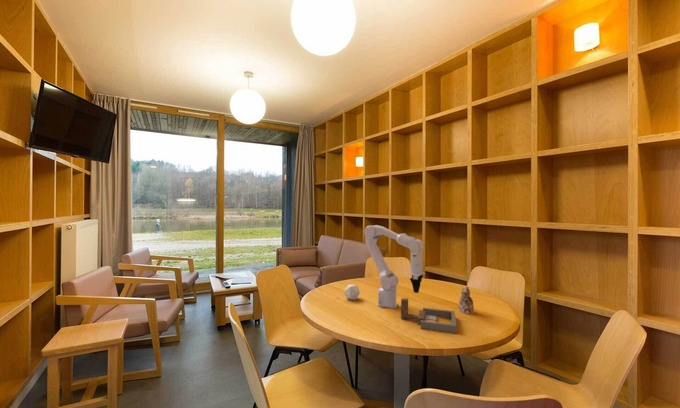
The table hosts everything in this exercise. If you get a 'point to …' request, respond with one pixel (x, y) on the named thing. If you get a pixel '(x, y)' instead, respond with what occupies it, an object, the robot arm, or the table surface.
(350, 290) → the die
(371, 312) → the table surface
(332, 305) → the table surface
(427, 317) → the tile slate
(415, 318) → the scraper
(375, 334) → the table surface
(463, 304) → the figurine
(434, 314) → the grey flat u-shaped piece
